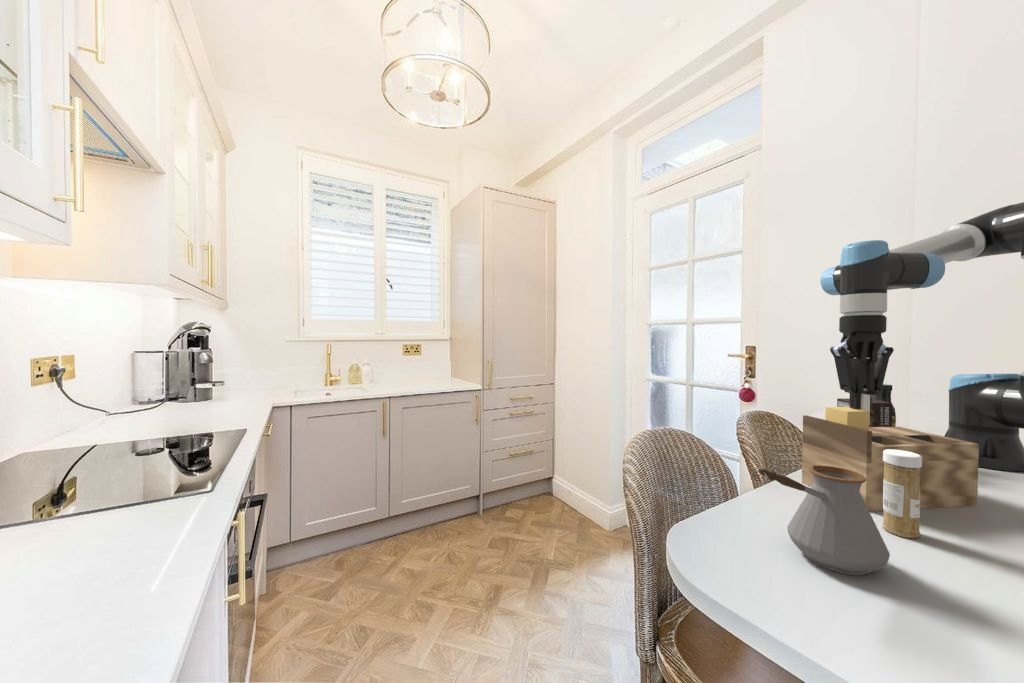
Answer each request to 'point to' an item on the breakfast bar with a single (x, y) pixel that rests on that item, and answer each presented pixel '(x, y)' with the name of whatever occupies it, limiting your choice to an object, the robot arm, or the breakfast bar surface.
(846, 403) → the coffee box
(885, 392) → the sauce bottle
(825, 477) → the coffee pot
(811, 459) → the box
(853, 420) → the ochre block
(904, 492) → the sprinkles bottle
